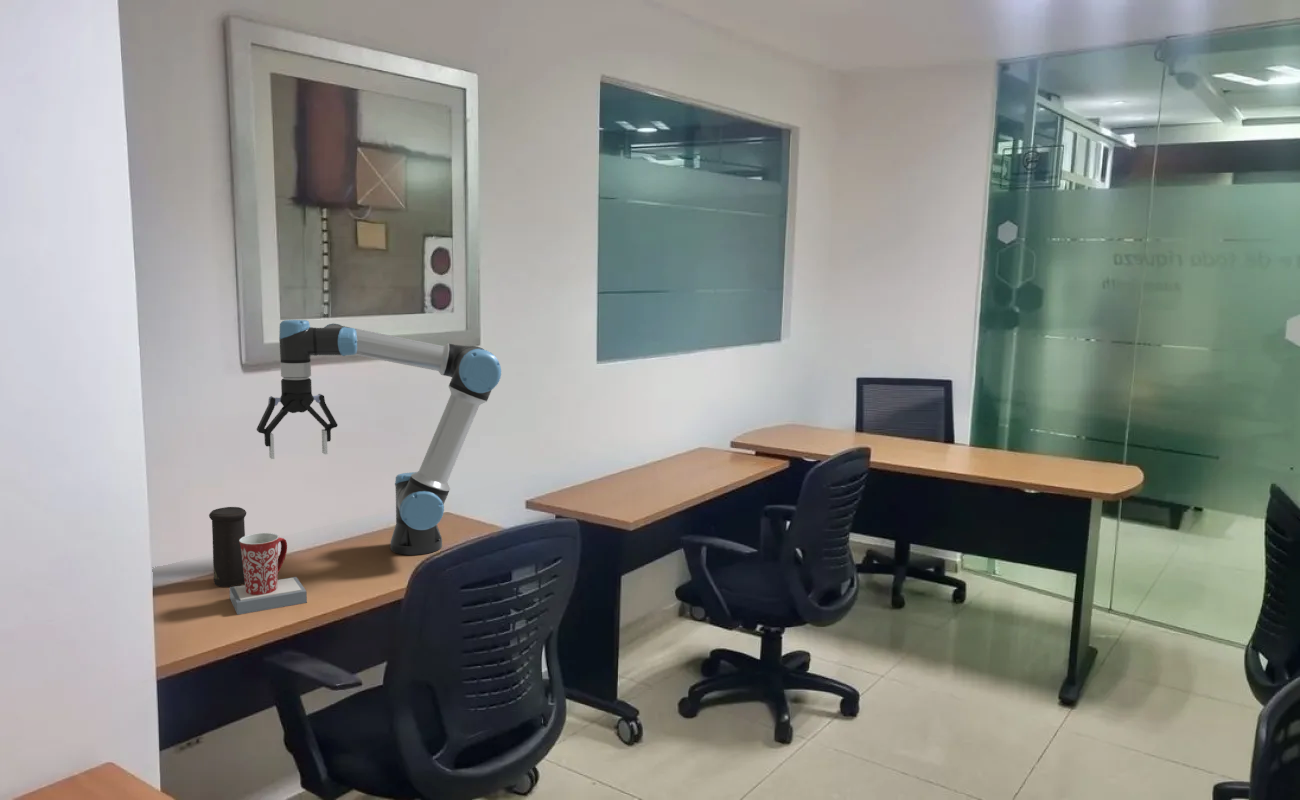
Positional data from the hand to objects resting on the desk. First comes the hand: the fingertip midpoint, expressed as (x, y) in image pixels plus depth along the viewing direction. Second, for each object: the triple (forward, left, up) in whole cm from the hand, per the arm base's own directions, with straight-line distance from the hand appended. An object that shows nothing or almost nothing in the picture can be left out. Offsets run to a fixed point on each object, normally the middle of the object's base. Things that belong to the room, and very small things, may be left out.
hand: (298, 455), depth 240 cm
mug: (+12, +18, -30) cm, 37 cm away
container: (+18, -1, -33) cm, 38 cm away
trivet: (+12, +18, -33) cm, 39 cm away
